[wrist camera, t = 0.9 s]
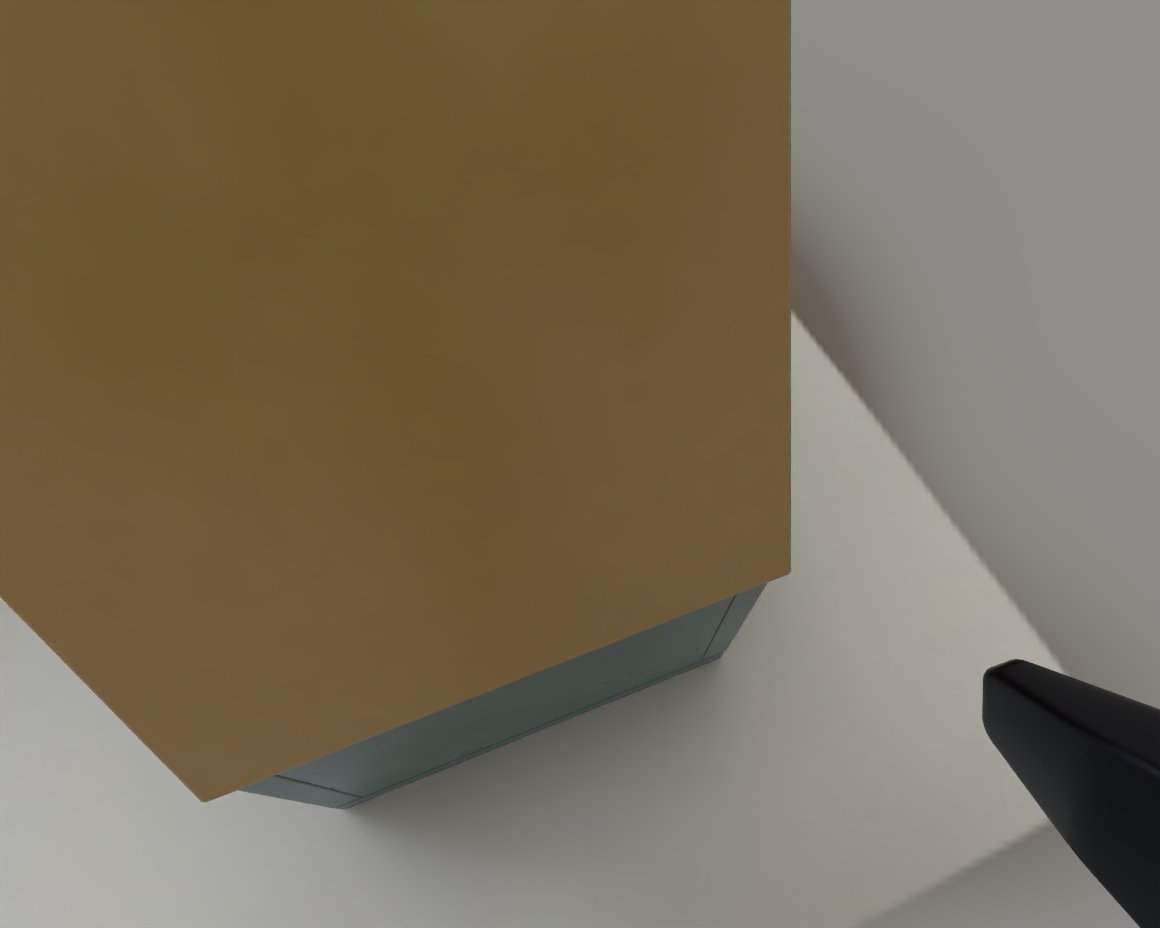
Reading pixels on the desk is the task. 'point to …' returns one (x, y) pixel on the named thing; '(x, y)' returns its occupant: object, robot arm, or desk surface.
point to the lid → (383, 348)
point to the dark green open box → (513, 709)
